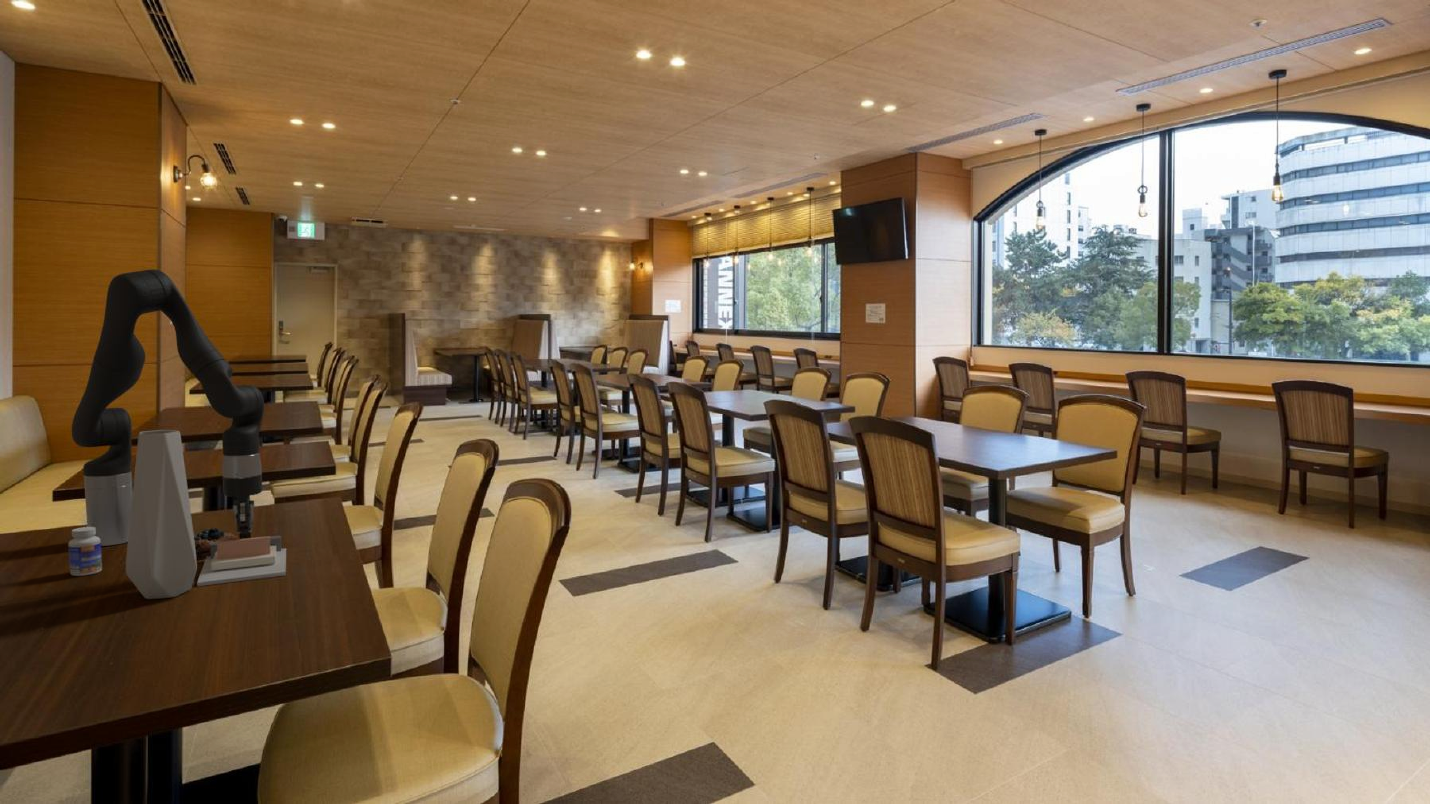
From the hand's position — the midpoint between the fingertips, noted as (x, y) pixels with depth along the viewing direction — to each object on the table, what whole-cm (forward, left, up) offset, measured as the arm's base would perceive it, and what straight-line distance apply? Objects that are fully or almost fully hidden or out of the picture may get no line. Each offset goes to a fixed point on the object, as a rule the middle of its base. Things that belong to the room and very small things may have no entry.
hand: (245, 547), depth 175 cm
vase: (+16, -13, -4) cm, 21 cm away
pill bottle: (-7, -30, -4) cm, 31 cm away
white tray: (+4, 0, -3) cm, 5 cm away
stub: (+5, 0, -2) cm, 6 cm away
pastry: (-13, -9, -4) cm, 16 cm away
